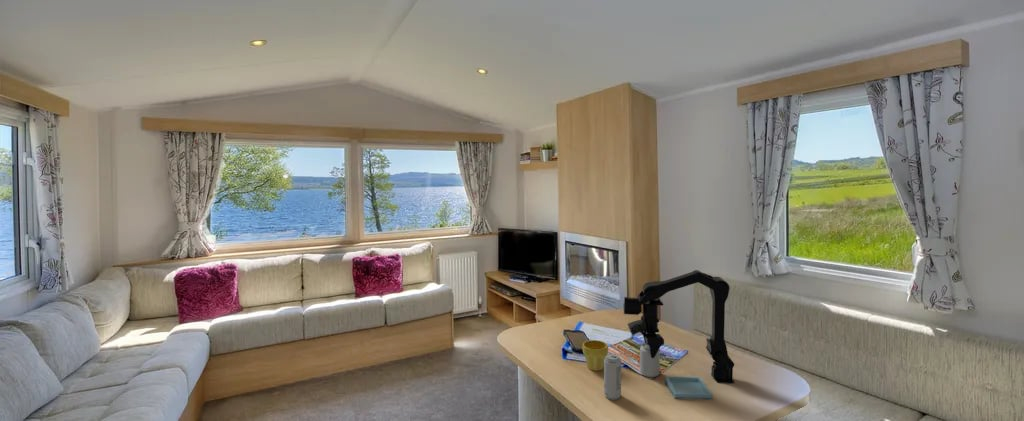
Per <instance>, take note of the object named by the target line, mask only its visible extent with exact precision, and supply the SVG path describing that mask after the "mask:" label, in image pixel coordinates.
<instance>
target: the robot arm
mask: <svg viewBox="0 0 1024 421" xmlns="http://www.w3.org/2000/svg"><path fill="white" fill-rule="evenodd" d="M697 283H698V284H701V285H703V286H705V287H706V288H708V289H709V293H710V296H711V300H712V304H711V308H712V309H711V311H712V314H711V316H712V317H711V336H710V338H706V340H705V341H706V346H705V348H706V351H707V352H708V354H709V355H710V357H711V358H712V360H713V361H712V365H711V374H710V375H711V377H712V378H713V379H714V381H715V382H717V383H722V384H723V383H724V384H725V383H730V384H731V383H732V384H733V383H734V384H735V380H734V379H733V378H734V376H733V375H734V374H733V373H734V370H733V369H734V366H735V363H734V361H733V359H732V358H731V357H730V356H729V353H728V348H727V343H726V340H725V320H726V319H725V317H726V316H725V313H726V312H725V310H726V309H725V308H726V305H725V304H726V301H727V299H728V297H729V293H730V288H731V287H730V285H729V283H728V282H727V281H726V280H725V279H724V278H722V277H721V276H713V275H710V274H707V273H705V272H701V270H698V269H695V270H693V271H690V272H688V273H684V274H681V275H677V276H675V277H672V278H668V279H667V280H662V281H661V280H658V281H656V280H655V281H649V282H646V283H644V284H643V286H642V288H641V291H640V292H639V294H638V295H637V297H629V296H624V298H623V303H622V304H623V315H629V316H630V315H631V316H635V315H636V316H639V315H640V314H641V313H642V315H641V316H640V319H638V320H637V319H636V320H634V321H632V322H628V323H627V326H628V329H629V332H630V334H631V335H636V334H639V333H640V334H641V335H642V336H643V337H642V338H643V341H644V342H643V343H647V345H649V348H650V354H651V358H654V357H655V356H656V354H657V352H658V350H659V349H660V348H661V347H662V346H663V345H665V339H664V337H663V336H662V334H660V329H659V327H658V326H659V323H660V319H659V306H664V302H663V301H662V300H661V299H660V298H661V297H663V296H664V295H665V294H667V293H669V292H672V291H675V290H677V289H681V288H685V287H689V286H691V285H694V284H697Z"/></svg>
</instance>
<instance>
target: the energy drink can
mask: <svg viewBox="0 0 1024 421" xmlns="http://www.w3.org/2000/svg"><path fill="white" fill-rule="evenodd" d="M603 393H604V395H605V398H607V399H608V400H611V401H617V400H619V399H620V397H621V396H622V361H621V358H620V355H618V354H616V353H608V354H607V355H606V358H605V359H604V368H603Z"/></svg>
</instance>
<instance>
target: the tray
mask: <svg viewBox="0 0 1024 421" xmlns="http://www.w3.org/2000/svg"><path fill="white" fill-rule="evenodd" d="M664 382H665V383H666V386H667V387H668V389H669V391H670V393H671V394H672V396H673V398H674V399H680V400H681V399H682V400H713V397H714V396H713V393H712V392H711V390H710V389H709V387H708V386H707V385H706V383H704V381H703V380H702V379H701V377H700V376H669V375H667V376H664Z"/></svg>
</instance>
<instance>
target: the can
mask: <svg viewBox="0 0 1024 421" xmlns="http://www.w3.org/2000/svg"><path fill="white" fill-rule="evenodd" d="M660 354H661V350H660V348H659V350H658V352H657V354H656V356H655V357H654V358H651V354H650V348H649V345H647V343H645V342H643V343H642V344H641V346H640V349H639V372H640V374H642V376H644V377H647V378H655V377H658V376H659V375H660V359H661V357H660Z"/></svg>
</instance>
